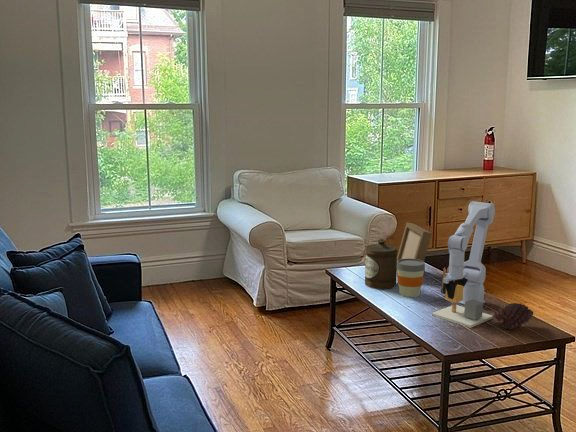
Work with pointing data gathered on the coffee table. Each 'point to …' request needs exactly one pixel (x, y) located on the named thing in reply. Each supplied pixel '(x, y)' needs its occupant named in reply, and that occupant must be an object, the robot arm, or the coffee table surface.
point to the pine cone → (513, 315)
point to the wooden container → (381, 265)
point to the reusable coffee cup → (410, 276)
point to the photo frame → (414, 243)
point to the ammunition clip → (443, 288)
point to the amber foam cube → (456, 294)
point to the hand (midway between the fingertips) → (454, 296)
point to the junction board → (460, 316)
